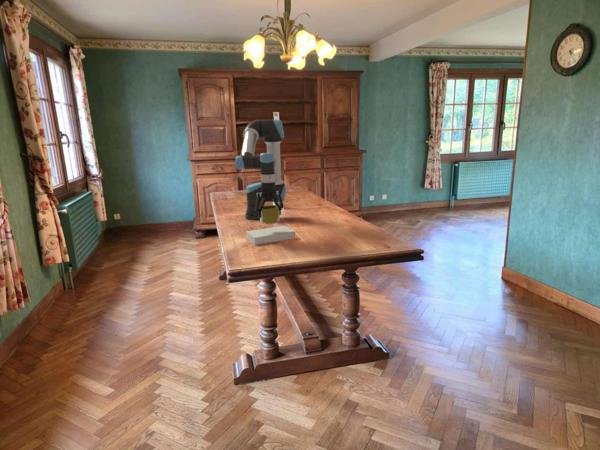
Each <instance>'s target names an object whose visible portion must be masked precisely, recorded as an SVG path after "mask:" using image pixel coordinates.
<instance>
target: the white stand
mask: <svg viewBox="0 0 600 450" xmlns="http://www.w3.org/2000/svg"><path fill="white" fill-rule="evenodd" d="M245 237H246V239H247V240H248V241H249V242H251V243H252V244H253V245H254V246H257V245H258V246H259V245H263V244H270V243H275V242H280V241H286V240H292V239H296V231H295V230H294V229H292V228H290V227H289V226H287V225H280V226H273V227H266V228H261V229H254V230H248V231H245Z"/></svg>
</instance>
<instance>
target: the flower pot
mask: <svg viewBox="0 0 600 450" xmlns="http://www.w3.org/2000/svg"><path fill="white" fill-rule="evenodd" d="M278 209H279V208H278V207H277V206H276V205H275V204H273V205H272V204H271V205H264V206H263V208H262V212H263V222H264V223H265V224H266V225H270V224H271V225H272V224H276V223H277V222H278V221H277V219H278Z"/></svg>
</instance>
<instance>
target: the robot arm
mask: <svg viewBox="0 0 600 450" xmlns="http://www.w3.org/2000/svg"><path fill="white" fill-rule="evenodd" d="M242 137H243V142H242V147H241V152H240V155H237V156H236V157H235V167H236V169H237V170H242V171H243V170H244V171H245V170H260V181H261V182H255V183H251V184H248V185H247V186H246V188H245V189H246V191H245V192H246V193H245V194H246V211H245V214H244V215H245V216H244V217H245V219H246V220H249V221H251V220H252V221H259V223H260V224H262V225H263V224H264V219H263V212H262V208H263V206H265V203H274V205H276V206H277V207H278V208H279V209H278V219H277V221H276V222H280V221H281V220H280V217H281V215H282V209H284V208H285V206H284V201H285V198H286V190H287V184H285V183H284V180H283V179H282V164H281V143H283V139H284V138H285V132H284V126H283V122H282V120H281V119H275V118H274V119H255V120H253V121H252V122H249V123H248V124H247V125H246V127H245V128H244V129H243V134H242ZM259 139H260V140H261V139H263V142H264V143H265V144H266V152H262V153H260V154H259V155H255V152H256V145H257V140H259Z"/></svg>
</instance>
